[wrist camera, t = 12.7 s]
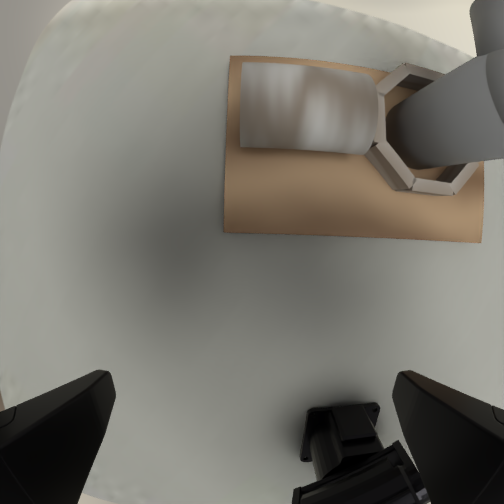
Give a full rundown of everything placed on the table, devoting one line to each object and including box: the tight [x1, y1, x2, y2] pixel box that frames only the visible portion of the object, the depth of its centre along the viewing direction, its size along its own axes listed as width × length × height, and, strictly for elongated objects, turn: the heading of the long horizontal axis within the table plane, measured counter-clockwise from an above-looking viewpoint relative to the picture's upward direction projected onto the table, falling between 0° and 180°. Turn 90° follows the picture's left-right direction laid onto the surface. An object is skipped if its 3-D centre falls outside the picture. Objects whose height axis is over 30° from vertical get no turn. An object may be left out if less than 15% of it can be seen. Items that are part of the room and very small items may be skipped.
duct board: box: [224, 56, 484, 243], centre depth 17 cm, size 12×20×6 cm, turn 88°
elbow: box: [385, 0, 504, 170], centre depth 12 cm, size 7×5×14 cm
